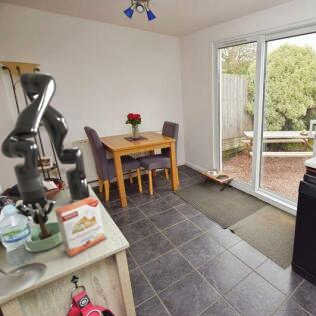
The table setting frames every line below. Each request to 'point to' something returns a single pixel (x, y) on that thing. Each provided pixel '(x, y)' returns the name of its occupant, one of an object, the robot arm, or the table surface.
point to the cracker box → (80, 225)
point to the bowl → (46, 243)
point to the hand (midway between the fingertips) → (41, 222)
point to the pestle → (43, 228)
